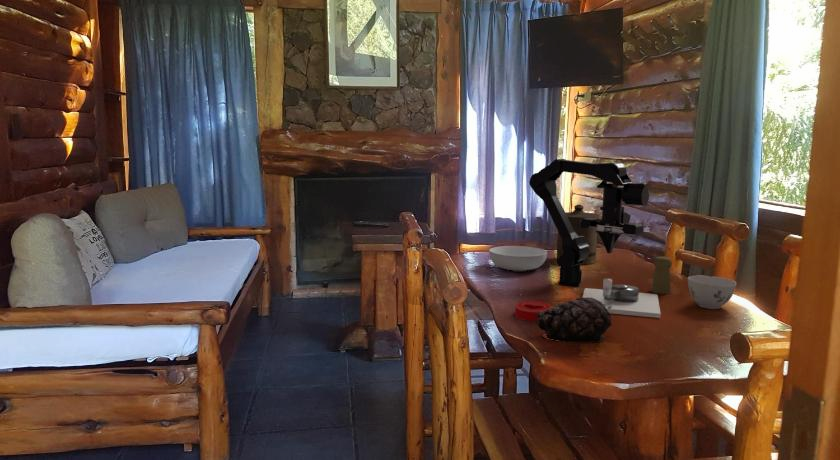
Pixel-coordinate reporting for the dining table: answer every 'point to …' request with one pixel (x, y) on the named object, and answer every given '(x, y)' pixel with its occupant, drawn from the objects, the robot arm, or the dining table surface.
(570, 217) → the wooden container
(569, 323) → the pine cone
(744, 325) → the dining table surface
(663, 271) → the cork
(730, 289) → the teacup
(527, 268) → the serving bowl
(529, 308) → the decorative ornament
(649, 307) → the stand board
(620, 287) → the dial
